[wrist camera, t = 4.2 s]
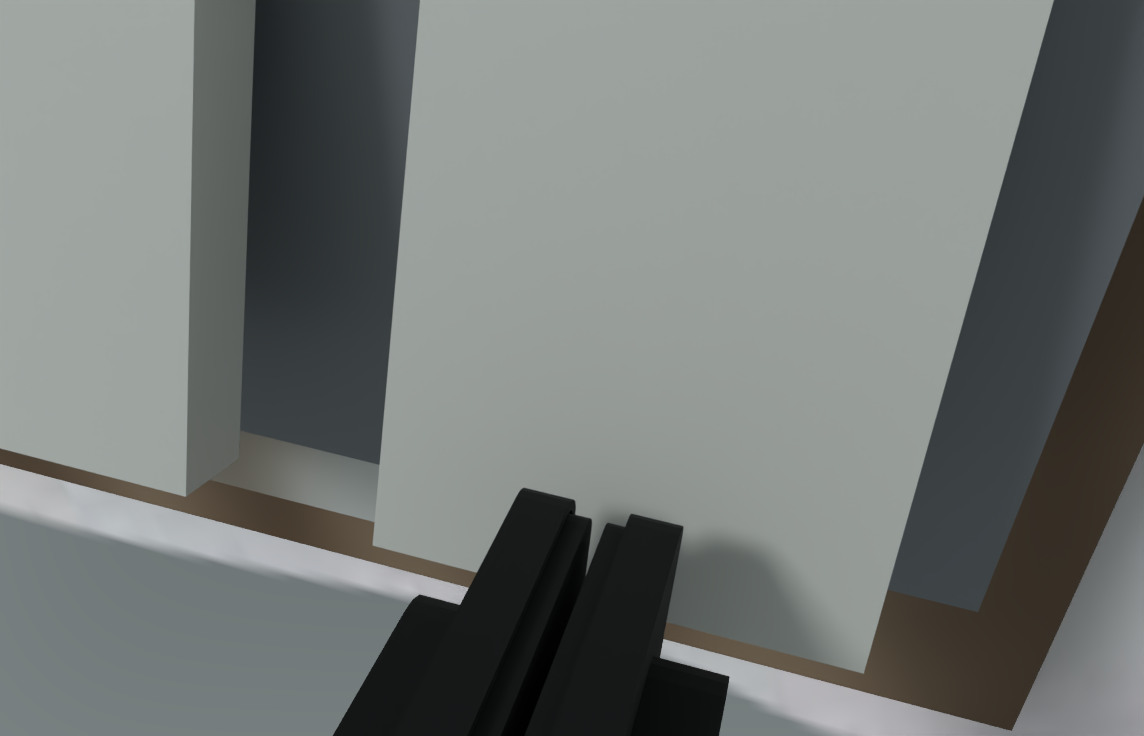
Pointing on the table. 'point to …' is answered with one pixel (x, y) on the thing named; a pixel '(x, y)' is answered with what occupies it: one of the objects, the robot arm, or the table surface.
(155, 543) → the table surface
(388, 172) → the switch housing
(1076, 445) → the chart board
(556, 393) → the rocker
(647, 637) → the robot arm
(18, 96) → the rocker
